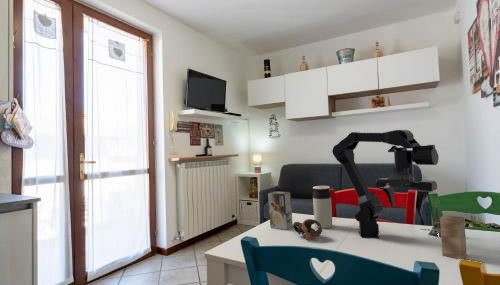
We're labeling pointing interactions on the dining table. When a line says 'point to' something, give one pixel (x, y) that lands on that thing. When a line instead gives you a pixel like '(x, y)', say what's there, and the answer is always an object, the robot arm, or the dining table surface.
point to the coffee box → (280, 210)
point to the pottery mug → (307, 228)
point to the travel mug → (322, 206)
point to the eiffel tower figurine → (435, 225)
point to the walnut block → (453, 237)
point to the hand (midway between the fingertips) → (406, 208)
